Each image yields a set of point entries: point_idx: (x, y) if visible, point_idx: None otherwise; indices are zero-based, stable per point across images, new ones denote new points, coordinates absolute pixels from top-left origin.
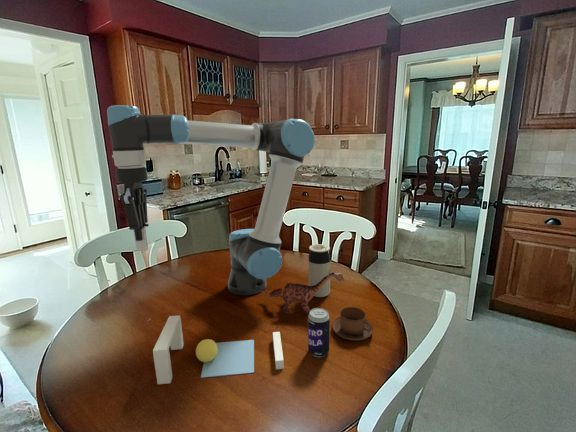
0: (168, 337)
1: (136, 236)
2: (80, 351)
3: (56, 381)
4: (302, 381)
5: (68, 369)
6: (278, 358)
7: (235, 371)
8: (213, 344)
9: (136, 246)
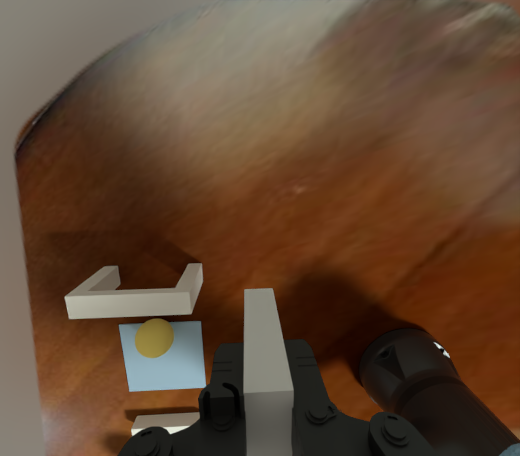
0: (108, 312)
1: (213, 375)
2: (194, 82)
3: (107, 83)
4: (114, 443)
5: (139, 88)
6: (136, 432)
7: (131, 368)
8: (149, 357)
9: (244, 306)
